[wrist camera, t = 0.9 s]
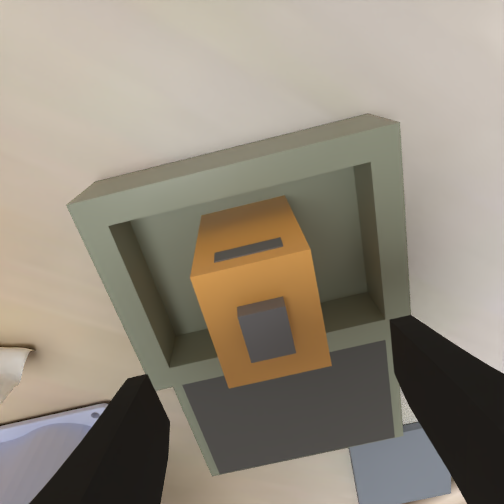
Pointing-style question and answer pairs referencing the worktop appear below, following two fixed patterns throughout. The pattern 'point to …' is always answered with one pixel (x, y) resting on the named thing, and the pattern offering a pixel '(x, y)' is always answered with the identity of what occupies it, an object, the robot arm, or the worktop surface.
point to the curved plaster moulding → (11, 368)
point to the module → (259, 293)
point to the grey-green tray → (326, 271)
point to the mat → (399, 469)
